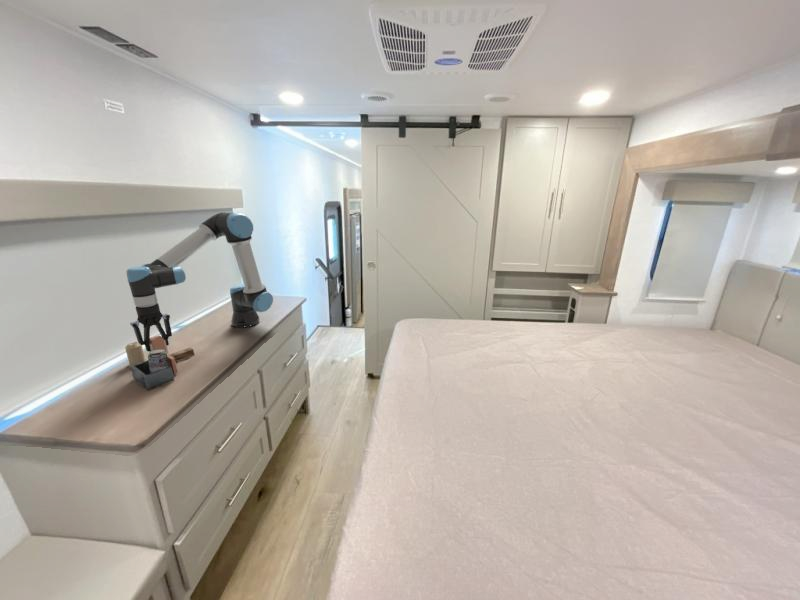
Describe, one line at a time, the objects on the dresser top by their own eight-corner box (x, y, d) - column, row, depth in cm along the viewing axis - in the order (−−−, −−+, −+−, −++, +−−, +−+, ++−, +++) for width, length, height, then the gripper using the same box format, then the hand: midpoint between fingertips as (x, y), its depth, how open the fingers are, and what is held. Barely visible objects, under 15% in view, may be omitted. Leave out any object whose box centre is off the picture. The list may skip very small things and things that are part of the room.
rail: (191, 353, 148) (190, 347, 147) (194, 355, 146) (193, 349, 145) (151, 367, 135) (149, 360, 134) (154, 369, 133) (152, 363, 133)
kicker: (165, 360, 140) (159, 335, 136) (181, 371, 131) (175, 344, 127) (154, 364, 136) (148, 338, 133) (170, 375, 128) (164, 348, 124)
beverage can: (148, 383, 123) (142, 356, 119) (155, 374, 130) (149, 348, 126) (167, 381, 125) (161, 354, 121) (173, 372, 132) (167, 346, 128)
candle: (144, 359, 142) (138, 339, 139) (147, 363, 138) (142, 342, 135) (128, 363, 137) (123, 343, 134) (131, 367, 134) (126, 346, 131)
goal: (159, 369, 133) (156, 357, 131) (174, 380, 126) (171, 367, 124) (133, 379, 126) (129, 366, 124) (147, 390, 119) (144, 377, 117)
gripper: (166, 297, 137) (177, 345, 144) (117, 308, 123) (132, 360, 131) (174, 300, 133) (185, 349, 140) (124, 312, 119) (139, 365, 127)
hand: (159, 354), depth 136 cm, fingers closed on kicker, 4 cm apart
